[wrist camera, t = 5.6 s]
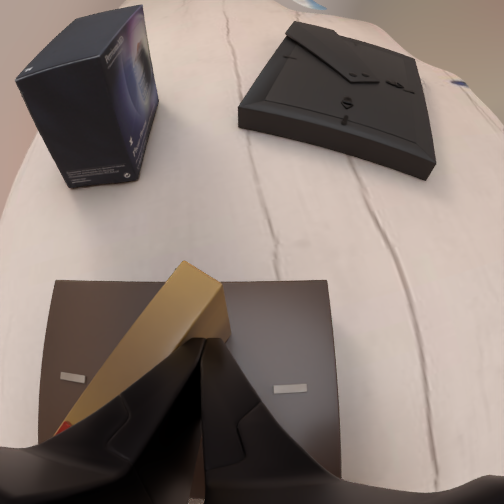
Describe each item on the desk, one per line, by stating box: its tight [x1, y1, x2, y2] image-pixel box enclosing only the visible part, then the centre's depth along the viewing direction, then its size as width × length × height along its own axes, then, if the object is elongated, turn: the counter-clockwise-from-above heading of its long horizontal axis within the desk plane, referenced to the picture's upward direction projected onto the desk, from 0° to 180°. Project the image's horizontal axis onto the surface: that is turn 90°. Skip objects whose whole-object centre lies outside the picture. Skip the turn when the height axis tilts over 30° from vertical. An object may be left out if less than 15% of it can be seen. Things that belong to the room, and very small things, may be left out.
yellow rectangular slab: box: [54, 261, 231, 436], centre depth 10 cm, size 7×1×6 cm, turn 148°
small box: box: [15, 5, 159, 188], centre depth 19 cm, size 11×6×10 cm, turn 3°
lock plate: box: [38, 268, 341, 499], centre depth 13 cm, size 14×11×3 cm
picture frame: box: [238, 21, 436, 180], centre depth 27 cm, size 16×3×21 cm
